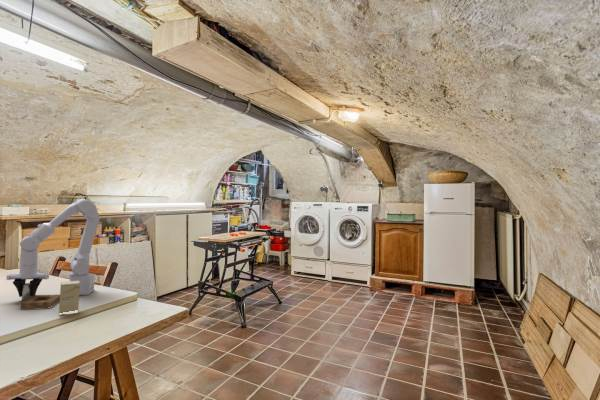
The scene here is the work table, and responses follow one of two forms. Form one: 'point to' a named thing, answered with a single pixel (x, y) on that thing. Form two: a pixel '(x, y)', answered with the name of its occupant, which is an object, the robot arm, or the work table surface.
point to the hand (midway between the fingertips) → (27, 296)
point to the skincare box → (69, 296)
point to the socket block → (40, 301)
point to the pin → (26, 291)
